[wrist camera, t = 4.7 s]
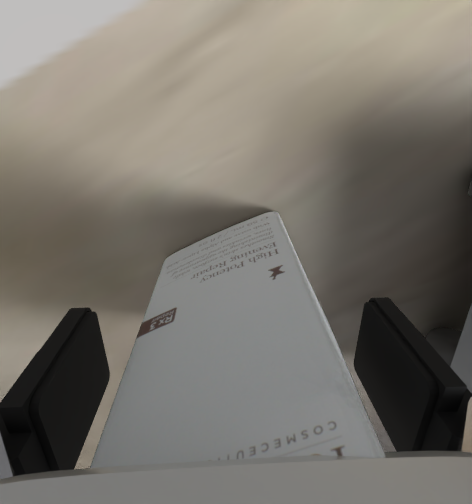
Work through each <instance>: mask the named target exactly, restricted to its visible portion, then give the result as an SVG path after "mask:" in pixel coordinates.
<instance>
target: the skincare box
mask: <svg viewBox="0 0 472 504" xmlns="http://www.w3.org/2000/svg"><path fill="white" fill-rule="evenodd" d="M310 455H326V456H355V457H369V458H384V457H385V453H384V451H383V449H382V447H381V444H380V442H379V440H378V437H377V435H376V433H375V431H374V428H373V426H372V424H371V422H370V419H369V417H368V415H367V412H366V410H365V408H364V405H363V403H362V400H361V398H360V396H359V393H358V391H357V388H356V386H355V384H354V381H353V379H352V377H351V374H350V372H349V369H348V367H347V365H346V362H345V360H344V357H343V355H342V352H341V350H340V348H339V345H338V343H337V340H336V338H335V335H334V333H333V331H332V329H331V327H330V324H329V322H328V320H327V318H326V316H325V314H324V311H323V309H322V307H321V305H320V303H319V301H318V299H317V297H316V295H315V292H314V290H313V288H312V286H311V284H310V282H309V280H308V278H307V276H306V273H305V271H304V269H303V267H302V264H301V262H300V260H299V258H298V255H297V253H296V251H295V249H294V246H293V244H292V242H291V239H290V237H289V235H288V233H287V230H286V228H285V226H284V224H283V222H282V219H281V217H280V215H279V213H278V212H276V211H274V212H267V213H264V214H262V215H259V216H256V217H254V218H251V219H249V220H246V221H244V222H241V223H239V224H236V225H234V226H231V227H229V228H227V229H224V230H222V231H220V232H218V233H215V234H213V235H211V236H209V237H207V238H204V239H202V240H200V241H198V242H196V243H194V244H192V245H190V246H188V247H186V248H183V249H181V250H179V251H178V252H176V253H174V254H172V255H170V256H169V257H168V258H166V259H165V261H164V263H163V266H162V269H161V272H160V275H159V277H158V280H157V283H156V285H155V288H154V291H153V294H152V296H151V299H150V302H149V305H148V308H147V310H146V313H145V316H144V319H143V322H142V324H141V327H140V330H139V332H138V335H137V338H136V341H135V344H134V347H133V349H132V352H131V355H130V358H129V361H128V363H127V366H126V368H125V371H124V374H123V376H122V379H121V382H120V385H119V388H118V391H117V393H116V396H115V399H114V402H113V405H112V407H111V410H110V413H109V416H108V419H107V421H106V424H105V427H104V430H103V433H102V435H101V438H100V441H99V444H98V447H97V449H96V452H95V455H94V458H93V461H92V464H91V466H90V468H99V467H113V466H130V465H146V464H163V463H180V462H197V461H215V460H234V459H252V458H271V457H290V456H310Z"/></svg>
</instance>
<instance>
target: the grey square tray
mask: <svg viewBox="0 0 472 504" xmlns="http://www.w3.org/2000/svg"><path fill="white" fill-rule="evenodd" d="M468 195H469V196H471V197H472V180H471V183H470V187H469V190H468ZM426 340H427V341H428V342H429V343H430V345H431V346H432V347H433V348H434V349H435V350H436V351H437V353H438V354H439V355H440V356H441V357H442V358H443V359H444V361H445V362H446V363H447V364H448V365H449V366H450V367H451V368H452V370H453V371H454V372H455V373H456V374H457V375H458V376H459V378H460V379H461V380H462V381H463V382H464V383H465V384H466V385H467V389H468V390H469V391H470V392H471V393H472V304H471V307H470V310H469V313H468V316H467V319H466V322H465V325H464V328H463V331H460V330H456V329H451V328H436V329H433V330H431V331H429V332H428V334H427V337H426Z"/></svg>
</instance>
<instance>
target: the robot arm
mask: <svg viewBox="0 0 472 504" xmlns="http://www.w3.org/2000/svg"><path fill="white" fill-rule="evenodd" d="M354 367H355V371H356V373H357V375H358V377H359V379H360V381H361V383H362V385H363V387H364V389H365V390H366V392H367V394H368V396H369V398H370V400H371V402H372V404H373V406H374V408H375V410H376V412H377V414H378V416H379V418H380V420H381V422H382V424H383V426H384V427H385V429H386V431H387V433H388V435H389V437H390V439H391V441H392V443H393V445H394V447H395V449H396V451H397V452H384V453H385V457H384V458H369V457H355V456H326V455H310V456H290V457H271V458H252V459H234V460H215V461H197V462H180V463H163V464H146V465H130V466H113V467H99V468H86V469H74V468H75V465H76V463H77V460H78V457H79V455H80V452H81V450H82V447H83V445H84V442H85V440H86V437H87V435H88V432H89V430H90V427H91V425H92V422H93V420H94V417H95V415H96V412H97V410H98V407H99V405H100V402H101V400H102V397H103V395H104V392H105V390H106V387H107V385H108V382H109V377H110V372H109V367H108V362H107V358H106V353H105V349H104V344H103V340H102V335H101V331H100V326H99V322H98V317H97V314H96V312H92V311H91V309H90V308H71V309H70V310H69V311H68V312H67V314H66V315H65V316H64V318H63V319H62V321H61V322H60V323H59V325H58V326H57V327H56V329H55V330H54V332H53V333H52V334H51V336H50V337H49V338H48V340H47V341H46V342H45V344H44V345H43V347H42V348H41V349H40V350H39V351H38V352H37V353H36V355H35V356H34V358H33V359H32V360H31V362H30V363H29V364H28V366H27V367H26V368H25V370H24V371H23V373H22V374H21V375H20V377H19V378H18V379H17V381H16V382H15V383H14V385H13V386H12V388H11V389H10V390H9V392H8V393H7V394H6V396H5V397H4V398H3V400H2V401H1V403H0V504H472V393H471V392H470V391H469V390H468V389H467V385H466V384H465V383H464V382H463V381H462V380H461V379H460V378H459V376H458V375H457V374H456V373H455V372H454V371H453V370H452V368H451V367H450V366H449V365H448V364H447V363H446V362H445V361H444V359H443V358H442V357H441V356H440V355H439V354H438V353H437V351H436V350H435V349H434V348H433V347H432V346H431V345H430V343H429V342H428V341H427V340H426V339H425V338H424V337H423V336H422V334H421V333H420V332H419V331H418V330H417V329H416V328H415V326H414V325H413V324H412V323H411V322H410V321H409V320H408V319H407V317H406V316H405V315H404V314H403V313H402V312H401V311H400V309H399V308H398V307H397V306H396V305H395V304H394V303H393V302H392V300H391V299H390V298H387V297H384V298H371V299H370V300H369V302H366V303H365V304H364V309H363V314H362V320H361V325H360V331H359V336H358V342H357V347H356V353H355V358H354Z"/></svg>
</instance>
